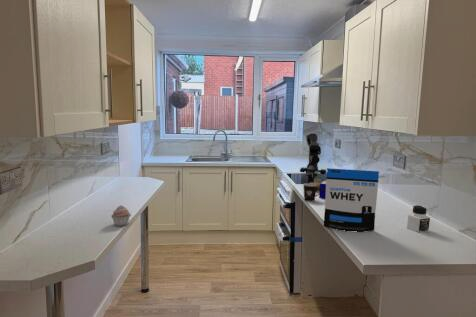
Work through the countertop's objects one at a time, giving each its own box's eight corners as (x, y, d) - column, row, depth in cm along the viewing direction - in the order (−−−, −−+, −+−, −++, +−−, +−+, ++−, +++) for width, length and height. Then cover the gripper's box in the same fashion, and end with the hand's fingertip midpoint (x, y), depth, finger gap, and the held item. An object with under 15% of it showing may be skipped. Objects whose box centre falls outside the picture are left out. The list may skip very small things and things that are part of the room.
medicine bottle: (418, 232, 170) (421, 209, 168) (406, 227, 176) (408, 205, 174) (428, 230, 172) (431, 207, 171) (416, 226, 179) (418, 203, 177)
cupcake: (124, 228, 167) (123, 208, 165) (107, 226, 169) (106, 206, 168) (134, 222, 176) (134, 203, 174) (118, 220, 178) (118, 201, 177)
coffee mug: (300, 199, 225) (300, 184, 223) (307, 197, 231) (308, 182, 229) (316, 203, 217) (316, 187, 215) (322, 200, 223) (323, 185, 221)
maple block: (315, 183, 259) (315, 178, 259) (320, 184, 258) (320, 178, 257) (314, 184, 256) (314, 179, 255) (319, 185, 254) (320, 179, 253)
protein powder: (323, 223, 181) (326, 166, 176) (372, 227, 175) (377, 169, 171) (323, 229, 172) (327, 170, 167) (375, 234, 166) (380, 173, 162)
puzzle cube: (319, 198, 230) (319, 183, 229) (322, 194, 239) (323, 180, 237) (334, 200, 226) (335, 185, 224) (337, 196, 234) (338, 182, 233)
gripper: (298, 161, 252) (297, 182, 254) (324, 164, 244) (323, 185, 247) (302, 159, 262) (301, 180, 264) (327, 162, 255) (325, 182, 257)
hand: (312, 182), depth 258 cm, fingers closed
